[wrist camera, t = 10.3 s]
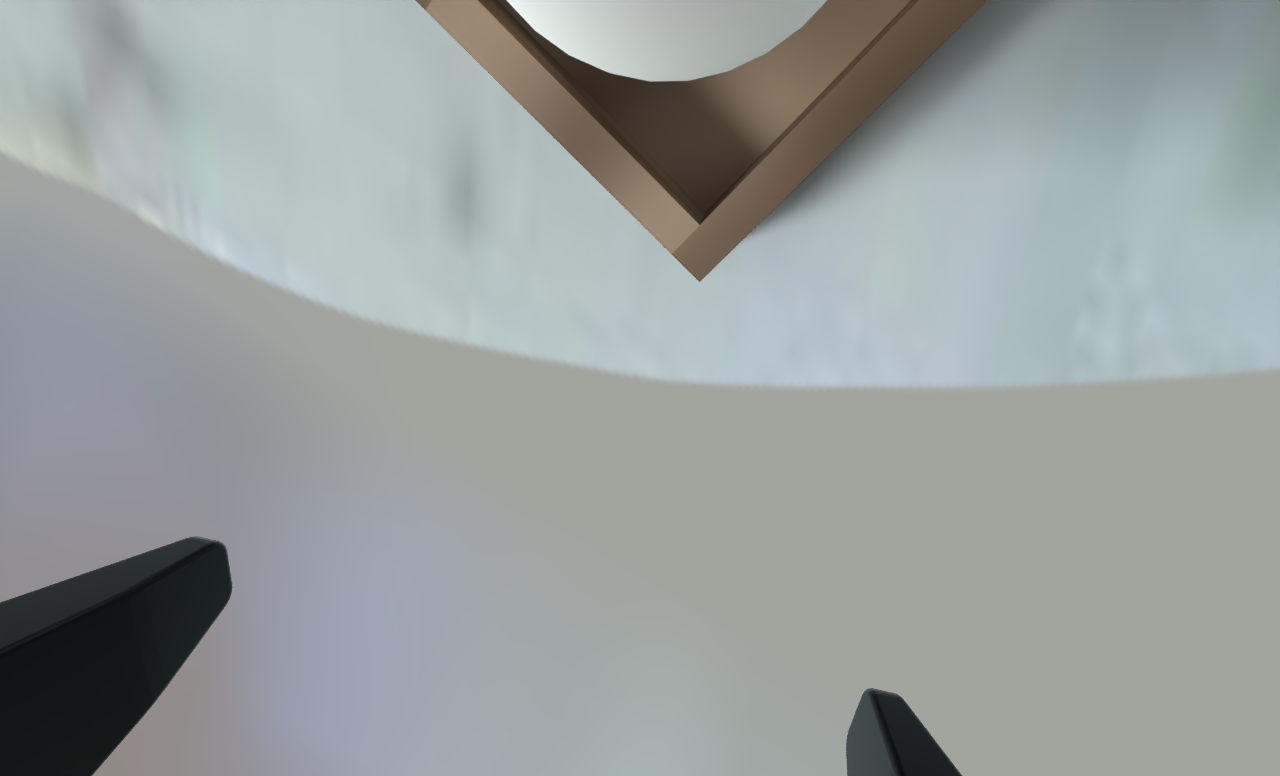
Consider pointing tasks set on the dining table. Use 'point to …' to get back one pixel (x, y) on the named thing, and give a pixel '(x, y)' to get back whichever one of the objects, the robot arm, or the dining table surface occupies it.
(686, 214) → the brown square tray
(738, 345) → the dining table surface
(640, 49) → the lightbulb
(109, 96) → the dining table surface
